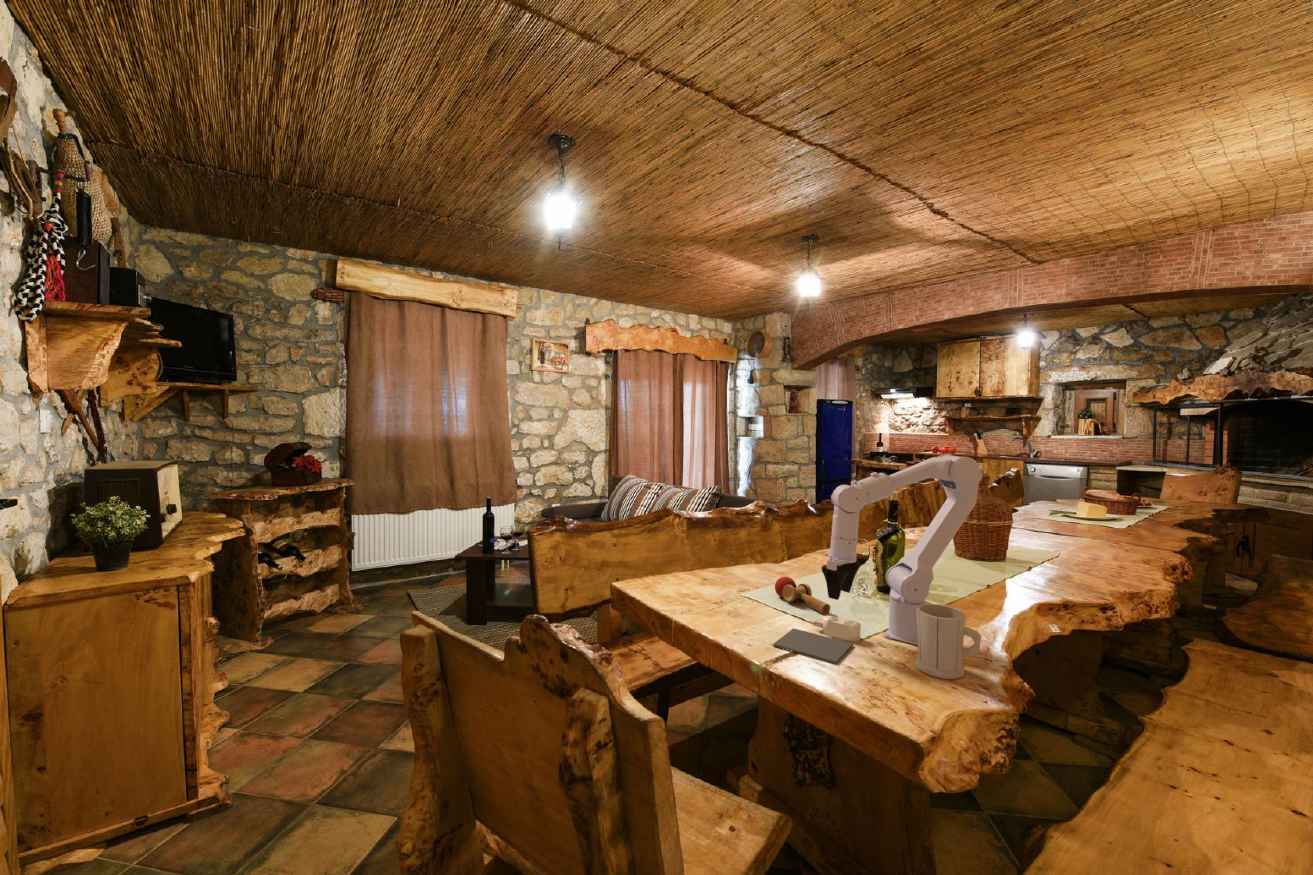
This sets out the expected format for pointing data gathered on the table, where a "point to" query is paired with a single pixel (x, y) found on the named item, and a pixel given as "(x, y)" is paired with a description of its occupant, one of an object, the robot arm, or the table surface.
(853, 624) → the block
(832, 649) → the mat
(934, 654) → the cup
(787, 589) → the kendama
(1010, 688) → the table surface
